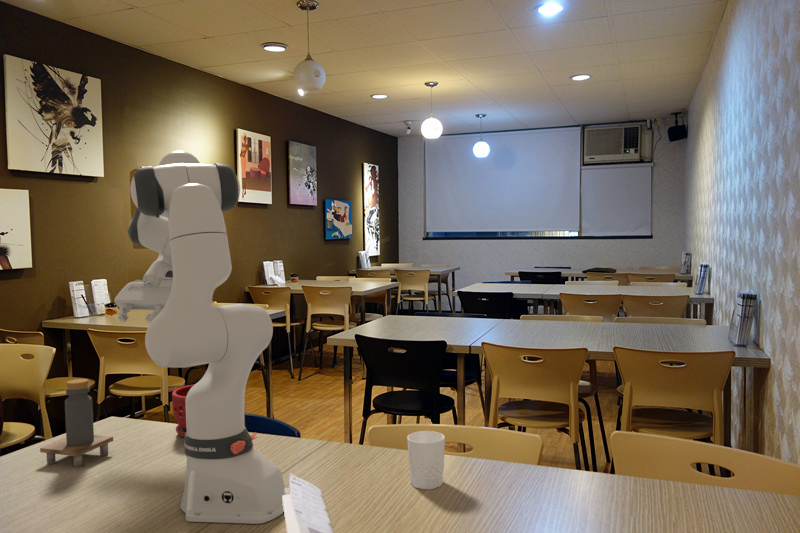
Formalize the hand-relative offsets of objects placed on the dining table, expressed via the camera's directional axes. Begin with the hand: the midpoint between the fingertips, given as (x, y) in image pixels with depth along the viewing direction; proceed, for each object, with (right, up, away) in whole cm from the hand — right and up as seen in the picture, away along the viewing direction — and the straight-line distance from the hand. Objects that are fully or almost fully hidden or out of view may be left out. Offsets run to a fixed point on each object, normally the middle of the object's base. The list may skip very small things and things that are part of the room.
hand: (134, 321), depth 160 cm
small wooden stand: (-9, -32, -12) cm, 35 cm away
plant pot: (+15, -31, +6) cm, 35 cm away
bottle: (-8, -28, -12) cm, 32 cm away
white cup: (+75, -32, -30) cm, 87 cm away
